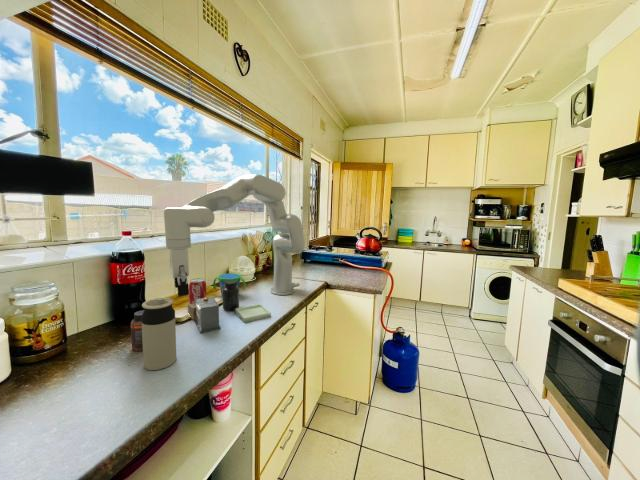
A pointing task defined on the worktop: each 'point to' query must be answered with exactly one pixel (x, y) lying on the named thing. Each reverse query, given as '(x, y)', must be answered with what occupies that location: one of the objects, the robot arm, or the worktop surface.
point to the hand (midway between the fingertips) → (181, 291)
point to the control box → (207, 314)
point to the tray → (252, 313)
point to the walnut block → (192, 311)
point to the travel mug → (158, 333)
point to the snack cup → (228, 277)
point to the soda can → (196, 290)
